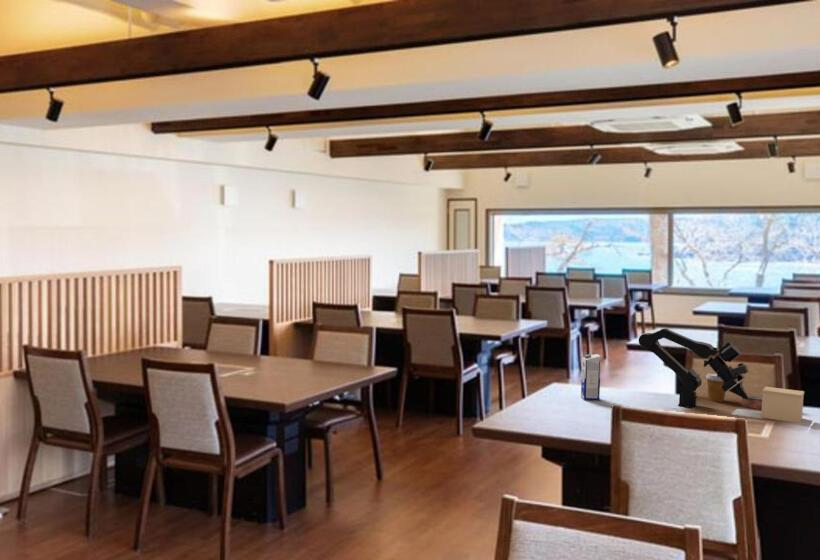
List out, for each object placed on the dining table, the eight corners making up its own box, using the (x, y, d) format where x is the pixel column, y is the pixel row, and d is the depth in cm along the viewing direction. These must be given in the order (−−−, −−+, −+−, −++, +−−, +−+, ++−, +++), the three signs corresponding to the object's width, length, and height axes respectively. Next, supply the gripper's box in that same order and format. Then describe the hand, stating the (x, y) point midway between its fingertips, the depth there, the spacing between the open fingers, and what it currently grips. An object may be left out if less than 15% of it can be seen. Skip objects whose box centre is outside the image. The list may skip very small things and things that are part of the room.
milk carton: (599, 400, 343) (601, 355, 342) (584, 400, 343) (585, 355, 342) (595, 397, 350) (597, 353, 349) (580, 396, 350) (582, 352, 349)
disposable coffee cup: (729, 400, 350) (730, 374, 349) (725, 404, 342) (726, 377, 341) (707, 398, 355) (708, 372, 354) (702, 401, 347) (704, 375, 346)
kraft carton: (760, 417, 316) (762, 390, 316) (764, 413, 324) (765, 386, 323) (799, 423, 308) (801, 395, 308) (802, 418, 316) (804, 391, 316)
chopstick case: (741, 407, 336) (742, 397, 336) (743, 405, 341) (744, 395, 340) (793, 414, 325) (794, 403, 325) (795, 412, 329) (795, 401, 329)
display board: (730, 415, 321) (730, 414, 321) (736, 409, 332) (736, 408, 332) (795, 424, 308) (795, 423, 308) (799, 418, 319) (799, 416, 319)
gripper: (732, 360, 317) (759, 390, 312) (741, 354, 333) (767, 383, 327) (710, 376, 322) (737, 406, 317) (720, 370, 337) (745, 399, 332)
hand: (747, 398), depth 323 cm, fingers closed
